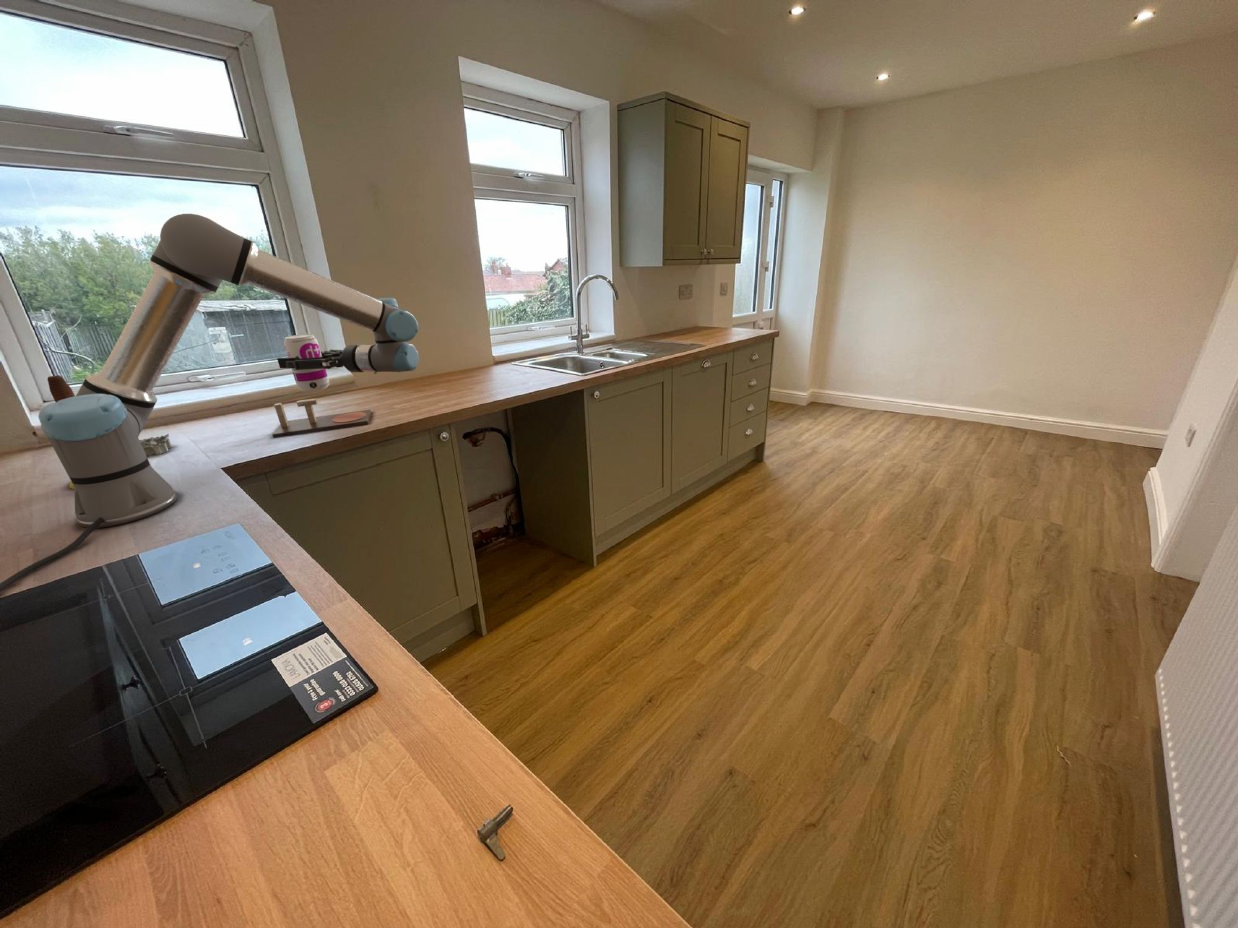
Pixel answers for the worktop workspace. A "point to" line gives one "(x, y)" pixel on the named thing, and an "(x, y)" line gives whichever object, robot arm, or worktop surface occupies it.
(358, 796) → the worktop surface
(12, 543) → the worktop surface
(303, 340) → the supplement can
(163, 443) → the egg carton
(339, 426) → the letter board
